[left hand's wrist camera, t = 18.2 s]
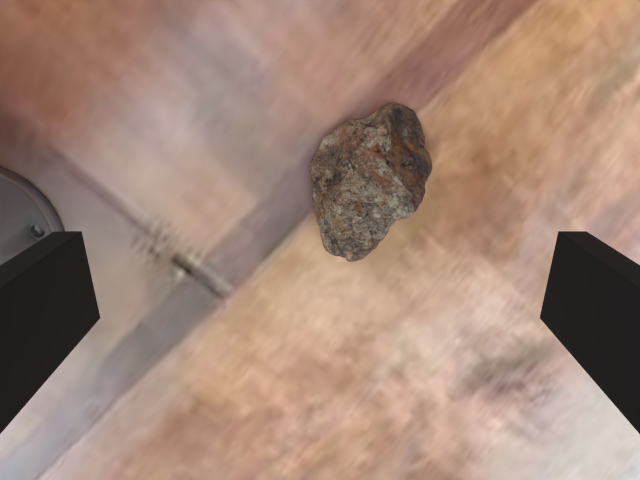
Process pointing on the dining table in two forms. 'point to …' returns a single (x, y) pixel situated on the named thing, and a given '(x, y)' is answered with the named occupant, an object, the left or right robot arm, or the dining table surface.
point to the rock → (368, 179)
